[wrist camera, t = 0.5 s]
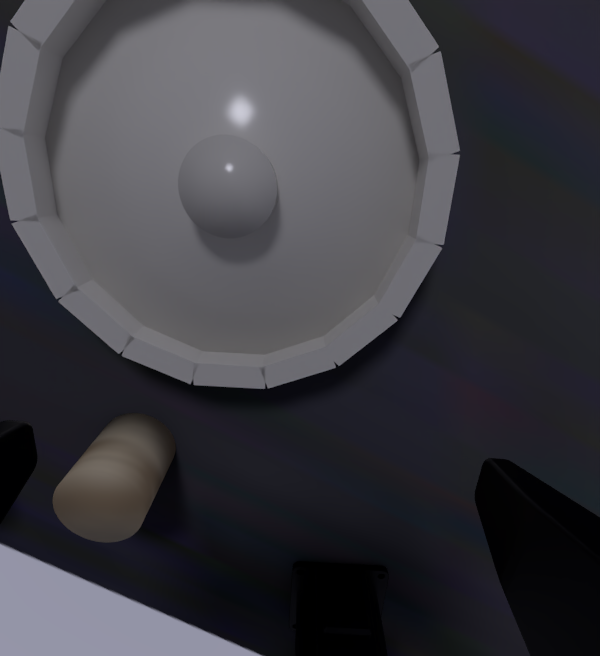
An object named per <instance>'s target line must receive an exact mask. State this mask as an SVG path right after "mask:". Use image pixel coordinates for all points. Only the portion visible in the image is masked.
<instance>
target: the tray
mask: <svg viewBox="0 0 600 656" xmlns="http://www.w3.org/2000/svg"><path fill="white" fill-rule="evenodd" d="M10 22H11V23H12V24H13V25H14V26H15V27H16V28H17V29H18V30H19V31H18V30H16V29H14V28H12V27H10V26H9V27H8V32H7V38H6V44H5V49H4V55H3V61H2V67H1V72H0V128H2V129H0V172H1V177H2V182H3V187H4V192H5V197H6V202H7V207H8V212H9V217H10V220H17V221H18V222H15V223H13V224H12V225H13V227H14V229H15V230H16V232H17V234H18V235H19V237H20V239H21V240H22V242H23V244H24V246H25V247H26V249H27V251H28V252H29V254H30V256H31V257H32V259H33V261H34V262H35V264H36V266H37V268H38V269H39V271H40V273H41V274H42V276H43V278H44V279H45V281H46V283H47V284H48V286H49V288H50V290H51V291H52V293H53V295H54V296H55V298H56V299H57V298H59V297H62V296H63V297H62V298H61V299H60V300H59V301H58V302H59V303H60V304H62V305H63V306H64V307H65V308H66V309H67V310H69V311H70V312H71V313H72V314H73V315H74V316H75V317H77V318H78V319H79V320H80V321H81V322H82V323H83V324H85V325H86V326H87V327H88V328H89V329H90V330H92V331H93V332H94V333H95V334H96V335H97V336H98V337H100V338H101V339H102V340H103V341H104V342H105V343H107V344H108V345H109V346H110V347H111V348H112V349H113V350H115V351H116V352H117V353H118V354H119V353H121V352H122V351H123V350H124V351H123V354H122V356H123V357H125V358H128V359H130V360H133V361H135V362H138V363H140V364H142V365H145V366H147V367H150V368H152V369H155V370H157V371H159V372H162V373H164V374H167V375H169V376H171V377H174V378H176V379H179V380H181V381H184V382H186V383H188V384H191V383H192V381H194V385H201V386H219V387H238V388H256V389H265V386H266V385H267V387H268V388H272V387H275V386H278V385H281V384H285V383H288V382H291V381H294V380H298V379H301V378H304V377H307V376H311V375H314V374H317V373H321V372H324V371H327V370H330V369H334V368H336V364H337V365H338V366H340V365H341V364H342V363H344V362H345V361H346V360H348V359H349V358H350V357H351V356H353V355H354V354H355V353H357V352H358V351H359V350H360V349H362V348H363V347H364V346H366V345H367V344H368V343H369V342H371V341H372V340H373V339H375V338H376V337H377V336H378V335H380V334H381V333H382V332H384V331H385V330H386V329H388V328H389V327H390V326H391V325H393V324H394V323H395V322H397V321H398V320H397V319H396V317H395V316H397V317H399V318H400V317H401V316H402V314H403V312H404V311H405V309H406V307H407V306H408V304H409V302H410V301H411V299H412V297H413V296H414V294H415V292H416V291H417V289H418V288H419V286H420V284H421V283H422V281H423V279H424V278H425V276H426V274H427V273H428V271H429V269H430V268H431V266H432V264H433V263H434V261H435V259H436V258H437V256H438V254H439V253H440V251H441V250H442V248H441V247H439V246H437V245H435V244H441V245H444V240H445V234H446V229H447V223H448V218H449V212H450V207H451V201H452V196H453V190H454V185H455V179H456V174H457V168H458V163H459V157H460V155H452V153H455V152H458V151H460V149H459V143H458V138H457V133H456V128H455V123H454V117H453V112H452V107H451V102H450V97H449V92H448V86H447V81H446V76H445V71H444V66H443V60H442V55H441V51H440V52H437V53H435V54H432V53H433V52H434V51H435V50H436V49H437V48H438V47H439V46H438V45H437V43H436V41H435V40H434V38H433V37H432V35H431V34H430V32H429V31H428V29H427V28H426V26H425V25H424V23H423V22H422V20H421V19H420V17H419V16H418V14H417V13H416V11H415V10H414V8H413V6H412V5H411V3H410V2H409V0H25V1H24V2H23V4H22V5H21V7H20V8H19V10H18V11H17V13H16V14H15V15H14V17H13V18H12V20H11V21H10ZM431 54H432V55H431ZM335 363H336V364H335Z"/></svg>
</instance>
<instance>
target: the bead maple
mask: <svg viewBox="0 0 600 656" xmlns="http://www.w3.org/2000/svg"><path fill="white" fill-rule="evenodd" d="M175 451H176V445H175V441H174V438H173V435H172V434H171V432H170V431H169V429H168V428H167V427H166V426H165V425H164V424H163V423H161V422H160V421H158V420H157V419H155V418H153V417H151V416H148V415H144V414H139V413H128V414H123V415H120V416H118V417H116V418H114V419H113V420H111V421H110V422H109V423H108V424H107V426H106V427H105V428H104V429H103V431H102V432H101V433H100V434H99V436H98V437H97V438H96V439H95V440H94V442H93V443H92V444H91V445H90V447H89V448H88V449H87V450H86V452H85V453H84V454H83V455H82V456H81V458H80V459H79V460H78V461H77V463H76V464H75V465H74V466H73V468H72V469H71V470H70V471H69V472H68V474H67V475H66V476H65V477H64V479H63V480H62V481H61V482H60V484H59V485H58V486H57V488H56V489H55V492H54V495H53V507H54V510H55V513H56V515H57V517H58V518H59V520H60V521H61V522H62V523H63V524H64V525H65V526H66V527H67V528H68V529H69V530H71V531H72V532H74V533H75V534H77V535H79V536H81V537H83V538H86V539H89V540H92V541H97V542H117V541H121V540H124V539H127V538H129V537H130V536H132V535H134V534H135V533H136V532H137V531H138V530H139V528H140V527H141V525H142V523H143V521H144V519H145V516H146V514H147V512H148V510H149V508H150V506H151V504H152V502H153V500H154V498H155V496H156V493H157V491H158V489H159V487H160V485H161V483H162V481H163V479H164V477H165V475H166V473H167V470H168V468H169V466H170V464H171V462H172V460H173V458H174V455H175Z"/></svg>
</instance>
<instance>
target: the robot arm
mask: <svg viewBox="0 0 600 656" xmlns="http://www.w3.org/2000/svg"><path fill="white" fill-rule="evenodd" d="M36 463H37V451H36V445H35V439H34V433H33V428H32V426H31V424H30V423H28V422H25V421H13V420H6V421H2V422H0V524H1V522H2V521H3V519H4V517H5V516H6V514H7V513H8V511H9V509H10V508H11V506H12V505H13V503H14V501H15V500H16V498H17V497H18V495H19V493H20V492H21V490H22V488H23V487H24V485H25V484H26V482H27V480H28V479H29V477H30V476H31V474H32V472H33V471H34V469H35V466H36ZM475 503H476V506H477V510H478V513H479V516H480V519H481V523H482V526H483V529H484V532H485V536H486V539H487V542H488V545H489V549H490V552H491V555H492V558H493V562H494V565H495V568H496V571H497V574H498V577H499V580H500V583H501V585H502V588H503V591H504V593H505V596H506V598H507V601H508V603H509V605H510V608H511V610H512V613H513V615H514V617H515V620H516V622H517V625H518V627H519V629H520V632H521V634H522V637H523V639H524V641H525V644H526V646H527V649H528V651H529V653H530V656H600V517H598V516H597V515H595V514H593V513H592V512H590V511H589V510H587V509H586V508H584V507H582V506H581V505H579V504H578V503H576V502H574V501H573V500H571V499H570V498H568V497H567V496H565V495H563V494H562V493H560V492H559V491H557V490H555V489H554V488H552V487H551V486H549V485H547V484H546V483H544V482H543V481H541V480H540V479H538V478H536V477H535V476H533V475H532V474H530V473H528V472H527V471H525V470H524V469H522V468H521V467H519V466H517V465H516V464H514V463H513V462H511V461H509V460H506V459H495V458H488V459H486V460H485V461H484V463H483V465H482V468H481V472H480V475H479V479H478V483H477V486H476V490H475ZM388 577H389V576H388V570H387V568H386V567H384V566H378V565H359V564H340V563H321V562H302V561H299V562H296V563H294V564H293V570H292V585H291V601H290V616H289V628H290V629H291V630H293V631H296V639H295V656H387V650H386V644H385V638H384V632H383V626H382V620H381V615H382V609H383V604H384V599H385V593H386V588H387V583H388Z"/></svg>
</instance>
